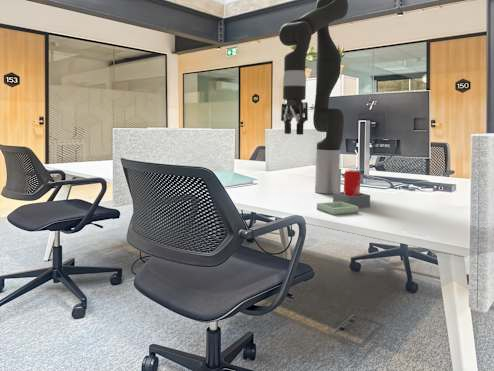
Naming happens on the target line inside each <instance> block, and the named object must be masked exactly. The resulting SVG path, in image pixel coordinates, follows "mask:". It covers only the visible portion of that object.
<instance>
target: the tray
mask: <svg viewBox="0 0 494 371" xmlns="http://www.w3.org/2000/svg"><path fill="white" fill-rule="evenodd" d="M359 209H360V208H359V207H358V206H355V205H351V204H348V203H344V202H341V201H340V202H333V201H329V202H317V203H316V210H317V211H320V212H323V213H326V214H329V215H332V216H340V215H349V214H350V215H351V214H352V213H353V214H359Z"/></svg>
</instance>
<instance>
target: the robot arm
mask: <svg viewBox="0 0 494 371" xmlns="http://www.w3.org/2000/svg"><path fill="white" fill-rule="evenodd" d="M315 4H316V5H315V9H313V10H310V11H309V12H307V13H305V14H303V15H302V16H300V17H299V18H296V19H294V20H293V19H292V20H291V21H288V22H287V23H284V24H283V25H282V26H281V27H280V30H279V32H278V38H279V39H278V40H279V41H280V42H281V44H282V45H284V46H285V47H292V46H293V47H294V46H295V48H294V49H293V50H292V51H290V52H288V53H286V54H285V55H284V58H283V59H284V61H283V64H284V65H283V67H284V68H283V70H284V71H283V79H282V84H283V85H282V86H283V87H282V99H283V100H284V101H286V103H282V104H281V113H280V114H281V115H280V120H281V121H282V122H283V124H284V131H283V132H284V135H291V133H292V120H293V119H295V121H296V135H298V136H301V135H304V125H305V123H306V122H307V121H308V120H309V117H308V116H309V114H308V111H309V110H308V106H309V104H308V102H306V101H305V102H303V101H304V100H306V93H307V90H306V89H307V88H306V87H307V76H306V58H307V55H308V50H309V47H310V43H311V42H312V41H311V40H312V36H313V35H315V34H317V35H316V39H317V41H316V66H315V67H316V70H315V71H316V72H315V73H316V82H315V83H316V85H315V98H314V107H313V115H312V116H313V118H312V119H313V120H312V121H313V127H314V129H315V130H316V131H317V132H320V133H326V135H325V138H324V139H321V140H319V141H317V143H316V155H315V158H316V159H315V181H314V191H315V193H318V194H328V195H329V194H331V195H333V193H335V192H341V186H342V184H341V183H342V182H341V181H342V169H341V168H340V161H341V160H340V159H341V158H340V157H341V145H342V142H343V135H344V134H343V133H344V128H345V127H344V126H345V124H344V123H345V116H344V112H342V110H341V109H339V108H329V105H330V104H329V103H330V96H331V93H332V91H333V89H334V88H335V86H336V84H337V82H338V80H339V78H340V75H341V66H342V65H341V64H342V57H341V53H340V51H339V49H338V47H337V45H336V44H335V41H334V40H333V39H332V36H331V34H330V30H329V24H331V23H333V22H336V21H339V20H341V19H344V18H345V17H346V16H347V14H348V11H349V2H348V0H317V1H316V3H315Z"/></svg>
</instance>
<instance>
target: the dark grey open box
mask: <svg viewBox="0 0 494 371" xmlns="http://www.w3.org/2000/svg"><path fill="white" fill-rule="evenodd" d="M332 195H333V196H332V202H340V201H341V202H344V203H348V204H351V205H355V206H358V207H359V209H362V208H370V206H371V205H370V204H371V203H370V202H371V194H367V193H362V192H360V194H359V195H357V196H348V195H344V191H340V192H335V193H333V194H332Z"/></svg>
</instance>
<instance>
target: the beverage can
mask: <svg viewBox="0 0 494 371" xmlns="http://www.w3.org/2000/svg"><path fill="white" fill-rule="evenodd" d="M361 176H362V175H361V172H360V170H359V169H346V170H345V171H344V176H343V177H344V179H343V180H344V182H343V192H344V195H348V196H357V195H359V194H360V193H361V192H360V189H361Z"/></svg>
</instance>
